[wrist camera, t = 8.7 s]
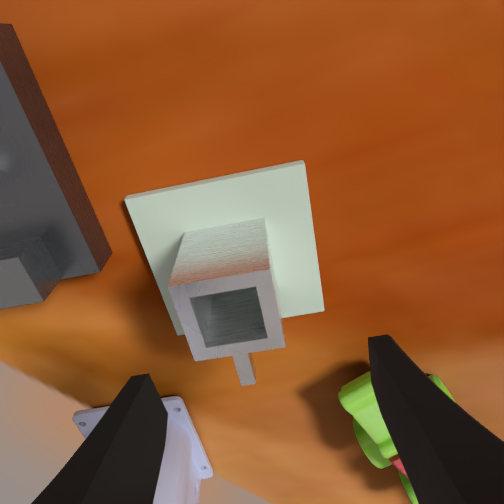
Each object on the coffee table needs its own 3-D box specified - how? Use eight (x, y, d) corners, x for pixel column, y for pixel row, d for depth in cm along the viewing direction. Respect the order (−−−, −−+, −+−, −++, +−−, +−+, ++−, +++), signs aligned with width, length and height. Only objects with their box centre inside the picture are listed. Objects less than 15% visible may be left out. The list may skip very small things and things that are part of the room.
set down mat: (322, 304, 23) (324, 310, 22) (179, 329, 23) (177, 335, 23) (302, 159, 18) (304, 163, 18) (127, 195, 19) (124, 199, 19)
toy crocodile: (312, 368, 26) (330, 454, 20) (402, 322, 24) (447, 404, 18) (428, 495, 34) (463, 580, 28) (502, 468, 32) (554, 554, 26)
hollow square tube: (282, 312, 22) (292, 378, 18) (213, 323, 23) (205, 391, 18) (264, 217, 19) (270, 268, 15) (184, 232, 20) (167, 286, 15)
